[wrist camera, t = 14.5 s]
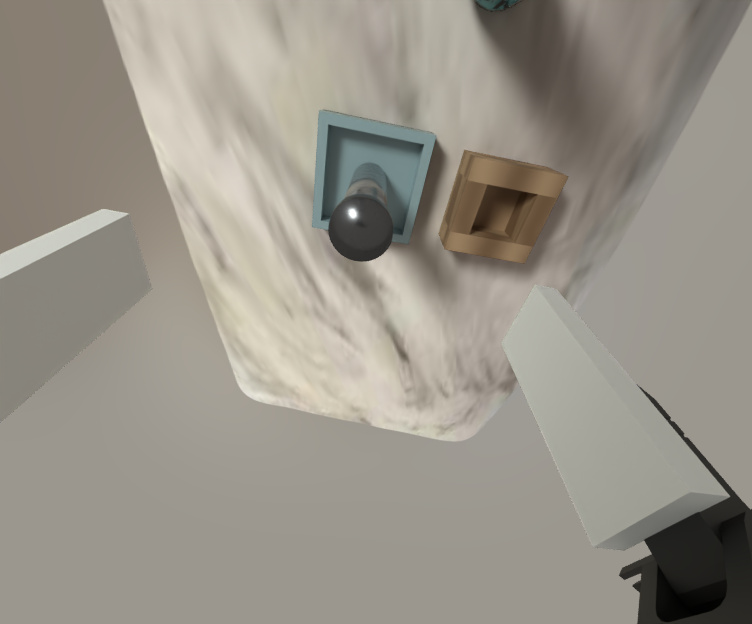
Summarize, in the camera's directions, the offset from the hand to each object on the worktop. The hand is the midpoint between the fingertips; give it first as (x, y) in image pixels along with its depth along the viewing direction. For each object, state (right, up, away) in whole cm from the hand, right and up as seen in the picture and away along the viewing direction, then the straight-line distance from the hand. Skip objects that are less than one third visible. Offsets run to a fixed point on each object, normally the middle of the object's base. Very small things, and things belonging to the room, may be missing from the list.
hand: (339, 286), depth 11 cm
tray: (+1, +15, +26) cm, 30 cm away
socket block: (+15, +13, +27) cm, 34 cm away
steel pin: (+1, +14, +25) cm, 29 cm away
